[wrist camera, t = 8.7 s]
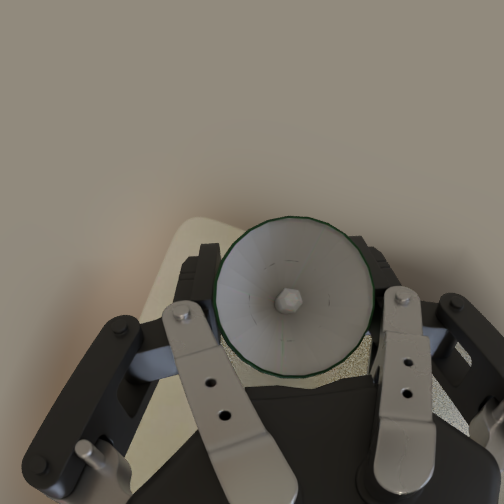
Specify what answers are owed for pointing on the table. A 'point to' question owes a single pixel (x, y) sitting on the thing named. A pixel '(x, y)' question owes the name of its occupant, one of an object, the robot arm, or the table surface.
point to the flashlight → (293, 297)
